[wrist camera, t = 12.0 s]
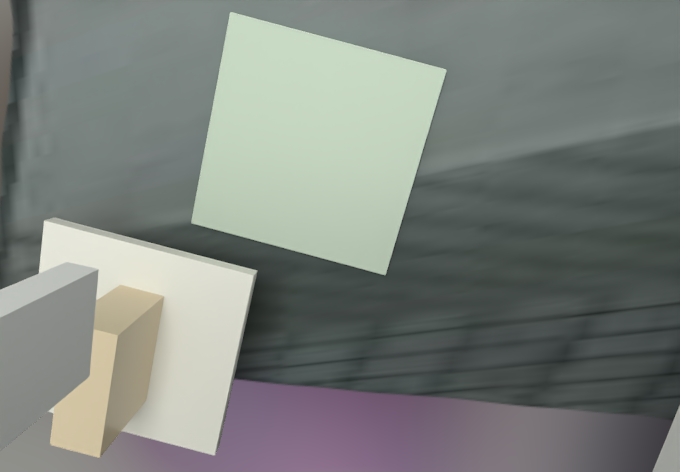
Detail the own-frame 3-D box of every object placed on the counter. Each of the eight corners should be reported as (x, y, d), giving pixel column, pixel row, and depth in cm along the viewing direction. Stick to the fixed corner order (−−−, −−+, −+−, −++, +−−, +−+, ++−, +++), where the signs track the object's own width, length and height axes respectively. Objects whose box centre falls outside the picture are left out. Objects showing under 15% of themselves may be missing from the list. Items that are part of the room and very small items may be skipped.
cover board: (257, 270, 32) (226, 311, 26) (218, 446, 36) (182, 523, 29) (54, 217, 33) (-31, 243, 26) (35, 397, 36) (-44, 463, 29)
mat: (445, 70, 35) (446, 69, 35) (385, 273, 39) (385, 275, 39) (232, 13, 35) (230, 12, 35) (193, 221, 39) (191, 223, 39)
